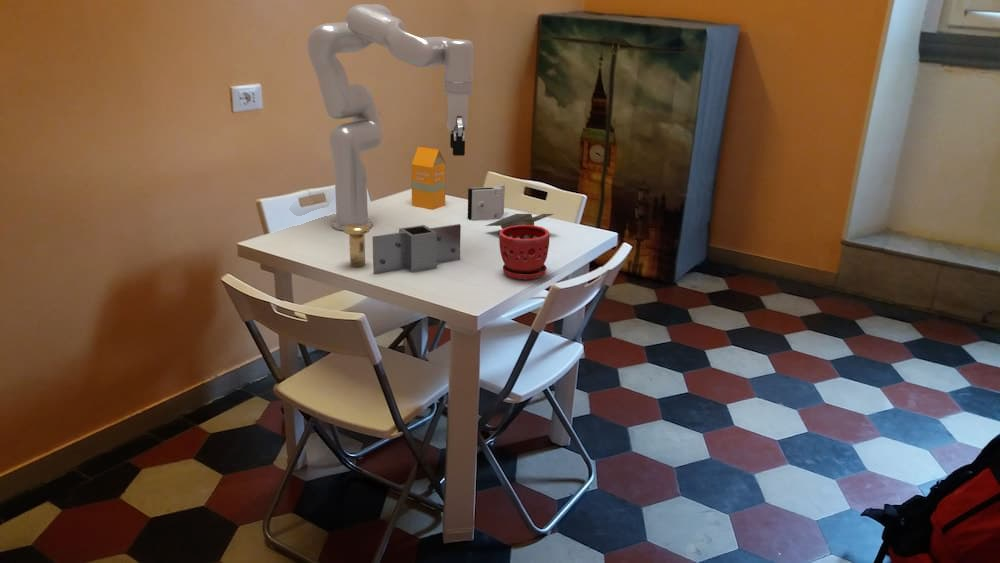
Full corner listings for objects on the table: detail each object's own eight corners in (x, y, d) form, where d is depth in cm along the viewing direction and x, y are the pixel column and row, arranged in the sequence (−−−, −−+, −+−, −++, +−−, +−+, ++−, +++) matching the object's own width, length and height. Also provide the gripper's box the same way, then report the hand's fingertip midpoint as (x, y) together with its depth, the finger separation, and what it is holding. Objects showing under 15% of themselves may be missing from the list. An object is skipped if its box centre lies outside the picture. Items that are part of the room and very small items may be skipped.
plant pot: (526, 262, 217) (528, 221, 212) (557, 276, 207) (560, 233, 203) (488, 271, 209) (489, 228, 205) (518, 286, 200) (520, 241, 195)
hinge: (502, 213, 262) (503, 184, 258) (510, 218, 257) (511, 188, 254) (465, 218, 255) (466, 188, 252) (473, 222, 251) (473, 192, 247)
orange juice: (432, 210, 263) (432, 150, 256) (411, 205, 267) (410, 147, 260) (445, 205, 269) (446, 147, 262) (425, 200, 273) (424, 143, 266)
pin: (341, 263, 212) (340, 225, 208) (364, 259, 215) (363, 221, 211) (350, 270, 206) (349, 231, 202) (374, 266, 210) (373, 228, 206)
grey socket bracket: (368, 268, 208) (367, 233, 204) (453, 254, 221) (453, 220, 217) (379, 277, 202) (379, 241, 198) (466, 262, 215) (466, 228, 211)
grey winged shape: (490, 251, 237) (519, 228, 226) (483, 225, 240) (510, 202, 229) (532, 250, 248) (561, 228, 237) (524, 225, 250) (552, 203, 239)
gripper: (442, 83, 216) (441, 145, 223) (446, 92, 200) (445, 158, 207) (469, 84, 217) (468, 145, 224) (475, 92, 201) (473, 158, 208)
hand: (457, 151), depth 215 cm, fingers open, 9 cm apart
